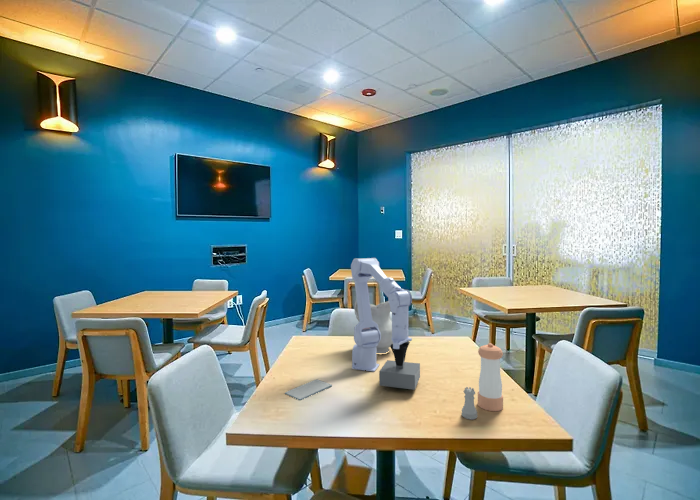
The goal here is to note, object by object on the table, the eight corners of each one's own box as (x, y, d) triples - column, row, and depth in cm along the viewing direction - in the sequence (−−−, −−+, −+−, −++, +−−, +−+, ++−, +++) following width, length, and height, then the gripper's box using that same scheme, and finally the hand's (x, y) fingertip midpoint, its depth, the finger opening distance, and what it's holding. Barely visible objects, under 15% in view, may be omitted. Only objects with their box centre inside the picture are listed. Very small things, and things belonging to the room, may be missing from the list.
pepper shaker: (491, 413, 103) (491, 348, 102) (472, 403, 109) (472, 342, 109) (508, 408, 106) (508, 344, 106) (488, 398, 113) (489, 339, 112)
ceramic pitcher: (347, 356, 159) (345, 302, 156) (358, 341, 177) (357, 293, 175) (394, 361, 152) (394, 305, 150) (401, 345, 171) (401, 295, 168)
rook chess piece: (458, 413, 103) (458, 385, 103) (473, 412, 104) (473, 385, 103) (465, 420, 99) (465, 392, 99) (480, 419, 99) (480, 391, 99)
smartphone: (283, 392, 117) (316, 378, 128) (283, 395, 117) (316, 381, 128) (299, 399, 112) (332, 384, 123) (299, 402, 112) (332, 387, 123)
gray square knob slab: (379, 385, 119) (379, 361, 119) (387, 373, 130) (387, 350, 130) (414, 389, 115) (414, 364, 115) (420, 376, 126) (419, 353, 126)
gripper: (408, 330, 114) (408, 372, 114) (414, 321, 128) (414, 358, 128) (386, 329, 117) (386, 369, 117) (395, 320, 130) (395, 356, 130)
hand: (400, 363), depth 123 cm, fingers closed on gray square knob slab, 2 cm apart
